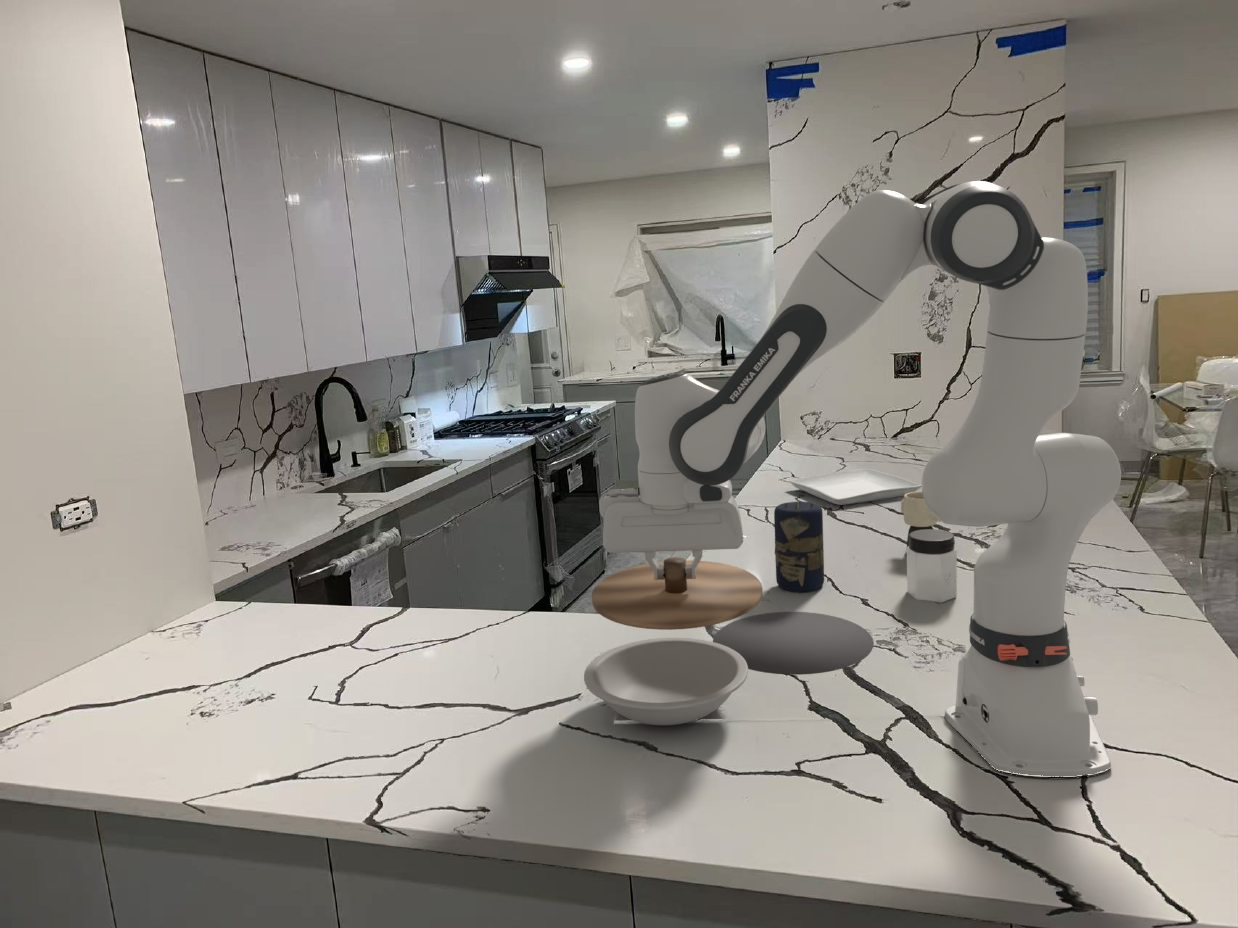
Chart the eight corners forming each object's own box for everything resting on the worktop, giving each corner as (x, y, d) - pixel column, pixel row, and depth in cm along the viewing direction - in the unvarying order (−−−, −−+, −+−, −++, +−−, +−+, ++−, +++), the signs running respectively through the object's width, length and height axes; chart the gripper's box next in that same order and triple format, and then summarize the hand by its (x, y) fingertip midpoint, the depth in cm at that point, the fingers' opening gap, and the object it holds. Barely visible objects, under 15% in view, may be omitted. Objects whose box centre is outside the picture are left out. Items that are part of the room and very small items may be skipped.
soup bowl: (652, 664, 147) (649, 626, 146) (780, 697, 132) (778, 656, 131) (553, 723, 129) (549, 681, 128) (688, 770, 114) (685, 723, 113)
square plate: (787, 491, 261) (787, 478, 260) (868, 479, 269) (868, 466, 268) (836, 511, 235) (836, 497, 235) (924, 497, 243) (924, 483, 242)
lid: (766, 627, 117) (764, 590, 115) (579, 631, 120) (576, 595, 119) (759, 563, 141) (758, 531, 140) (604, 567, 144) (601, 537, 143)
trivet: (887, 674, 137) (887, 672, 137) (712, 678, 140) (712, 675, 140) (860, 611, 163) (859, 609, 163) (713, 615, 167) (713, 613, 167)
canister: (770, 592, 177) (766, 505, 173) (784, 577, 185) (781, 494, 182) (817, 597, 172) (814, 507, 169) (830, 581, 180) (827, 496, 177)
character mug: (952, 554, 192) (952, 496, 189) (929, 561, 188) (929, 502, 186) (913, 544, 201) (912, 488, 199) (890, 550, 198) (890, 493, 195)
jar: (934, 606, 163) (934, 544, 161) (898, 595, 170) (898, 535, 168) (965, 594, 168) (965, 533, 166) (928, 584, 175) (928, 526, 172)
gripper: (594, 495, 125) (602, 587, 128) (741, 489, 122) (745, 583, 125) (600, 484, 131) (607, 573, 134) (740, 478, 128) (744, 569, 131)
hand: (675, 578), depth 129 cm, fingers closed on lid, 3 cm apart
